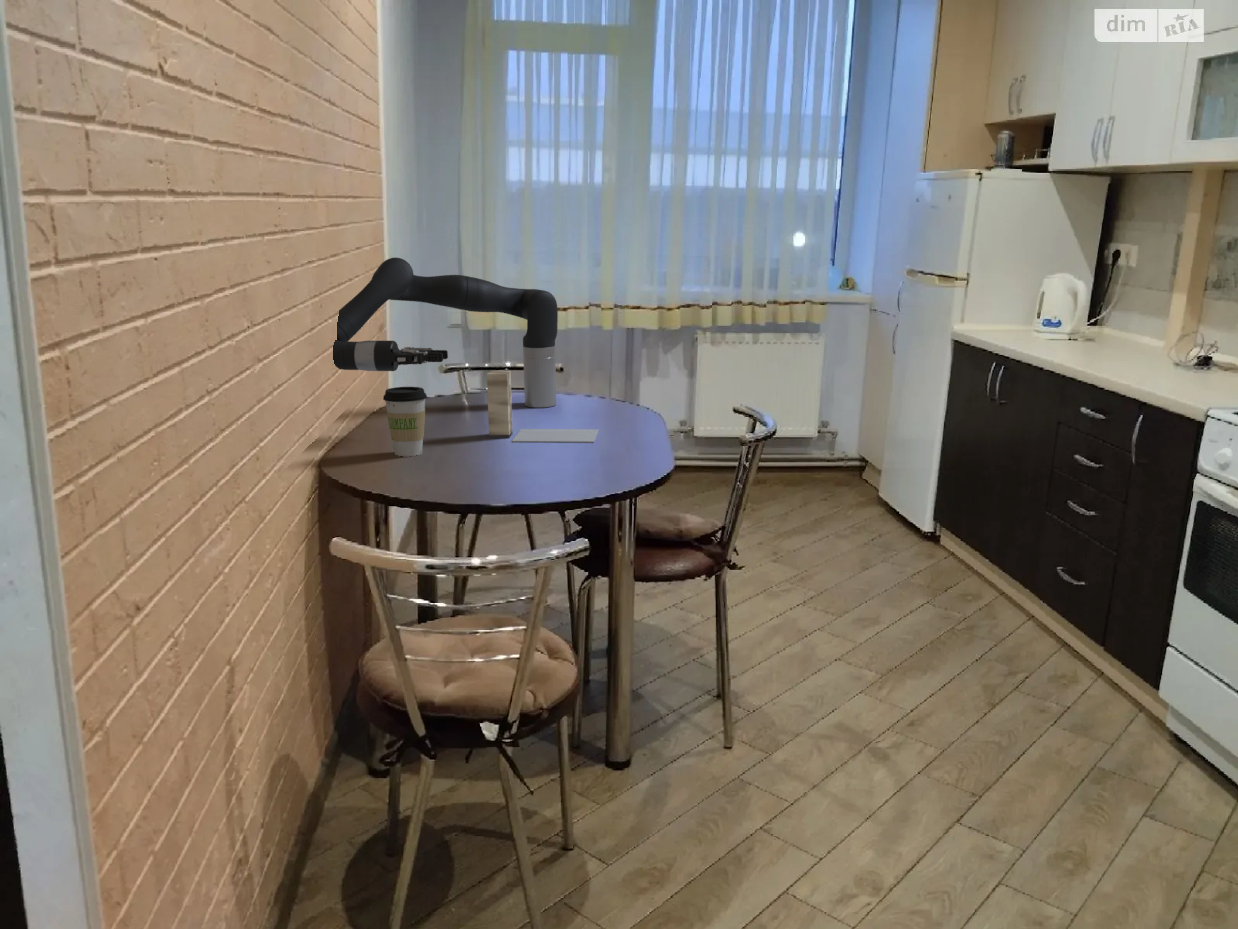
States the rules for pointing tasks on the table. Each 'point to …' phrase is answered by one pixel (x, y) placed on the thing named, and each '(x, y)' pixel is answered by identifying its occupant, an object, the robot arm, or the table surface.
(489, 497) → the table surface
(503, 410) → the birch block
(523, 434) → the grey mat
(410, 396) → the coffee cup
